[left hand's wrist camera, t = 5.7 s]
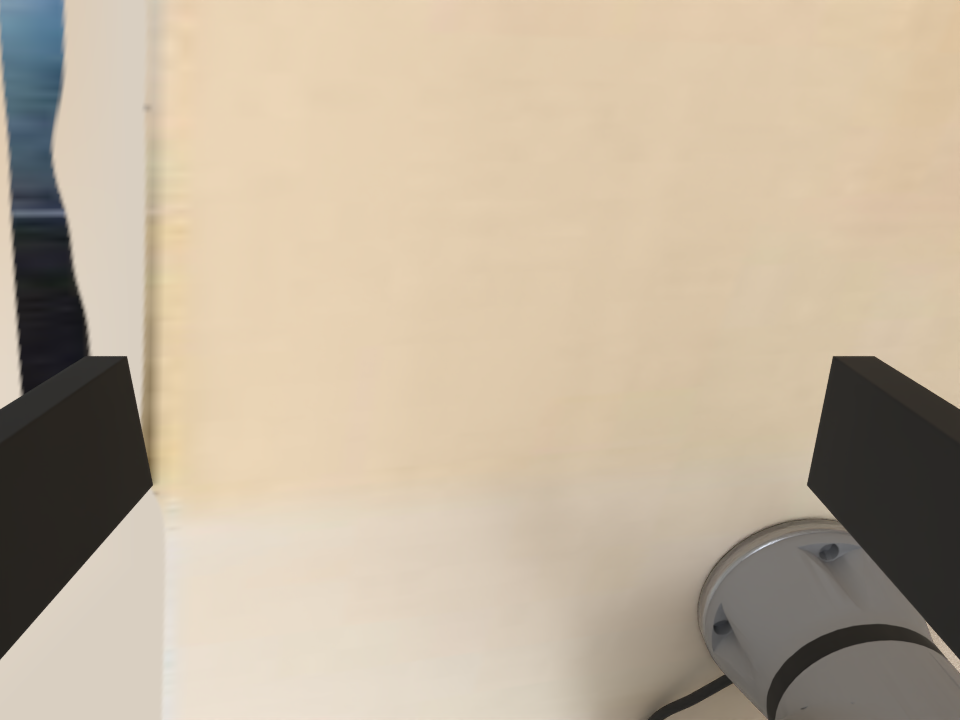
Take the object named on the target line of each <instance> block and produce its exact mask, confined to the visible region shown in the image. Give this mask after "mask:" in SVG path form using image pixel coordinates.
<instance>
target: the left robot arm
mask: <svg viewBox="0 0 960 720" xmlns="http://www.w3.org/2000/svg"><path fill="white" fill-rule="evenodd" d="M152 486H153V483H152V478H151V473H150V468H149V463H148V458H147V453H146V448H145V443H144V438H143V434H142V429H141V424H140V419H139V414H138V409H137V404H136V399H135V394H134V389H133V384H132V379H131V374H130V369H129V364H128V359H127V356H85V357H84V358H82V359H81V360H79V361H77V362H76V363H74V364H73V365H71V366H69V367H68V368H66V369H64V370H63V371H61V372H60V373H58V374H56V375H55V376H53V377H52V378H50V379H48V380H47V381H45V382H44V383H42V384H40V385H39V386H37V387H35V388H34V389H32V390H31V391H29V392H27V393H26V394H24V395H23V396H21V397H19V398H18V399H16V400H15V401H13V402H11V403H10V404H8V405H7V406H5V407H3V408H2V409H0V659H1V658H2V657H3V656H4V655H5V654H6V652H7V651H8V650H9V649H10V648H11V647H12V646H13V644H14V643H15V642H16V641H17V640H18V639H19V638H20V636H21V635H22V634H23V633H24V632H25V631H26V630H27V628H28V627H29V626H30V625H31V624H32V623H33V622H34V620H35V619H36V618H37V617H38V616H39V615H40V614H41V612H42V611H43V610H44V609H45V608H46V607H47V606H48V604H49V603H50V602H51V601H52V600H53V599H54V598H55V596H56V595H57V594H58V593H59V592H60V591H61V590H62V588H63V587H64V586H65V585H66V584H67V583H68V582H69V580H70V579H71V578H72V577H73V576H74V575H75V574H76V572H77V571H78V570H79V569H80V568H81V567H82V566H83V564H84V563H85V562H86V561H87V560H88V559H89V558H90V556H91V555H92V554H93V553H94V552H95V551H96V550H97V548H98V547H99V546H100V545H101V544H102V543H103V542H104V540H105V539H106V538H107V537H108V536H109V535H110V534H111V532H112V531H113V530H114V529H115V528H116V527H117V526H118V524H119V523H120V522H121V521H122V520H123V519H124V518H125V516H126V515H127V514H128V513H129V512H130V511H131V510H132V508H133V507H134V506H135V505H136V504H137V503H138V502H139V500H140V499H141V498H142V497H143V496H144V495H145V494H146V492H147V491H148V490H149V489H150V488H151V487H152ZM807 486H808V487H809V488H810V489H811V490H812V491H813V492H814V494H815V495H816V496H817V497H818V498H819V499H820V500H821V502H822V503H823V504H824V505H825V506H826V507H827V508H828V510H829V511H830V512H831V513H832V514H833V515H834V516H835V518H836V519H837V520H838V521H833V520H825V519H808V520H798V521H792V522H787V523H783V524H779V525H776V526H773V527H770V528H767V529H765V530H762V531H760V532H758V533H756V534H754V535H752V536H750V537H749V538H747V539H745V540H744V541H742V542H741V543H739V544H738V545H736V546H735V547H734V548H733V549H731V550H730V551H729V552H728V553H727V554H726V555H725V556H724V557H723V558H722V559H721V560H720V561H719V562H718V563H717V565H716V566H715V567H714V569H713V570H712V571H711V573H710V574H709V576H708V578H707V580H706V582H705V584H704V586H703V588H702V592H701V595H700V599H699V604H698V621H699V627H700V630H701V633H702V636H703V638H704V641H705V643H706V645H707V648H708V650H709V652H710V654H711V656H712V658H713V659H714V661H715V662H716V664H717V665H718V666H719V668H720V669H721V670H722V672H723V673H724V674H725V675H723V676H722V677H720V678H718V679H716V680H715V681H713V682H711V683H709V684H708V685H706V686H704V687H702V688H701V689H699V690H697V691H695V692H693V693H692V694H690V695H688V696H686V697H684V698H681V699H679V700H677V701H674V702H672V703H670V704H668V705H666V706H664V707H662V708H661V709H659V710H658V711H657V712H655V713H654V714H653V715H652V716H651V717H650V718H649V719H648V720H664V719H665V718H667V717H668V716H670V715H672V714H674V713H676V712H679V711H681V710H683V709H686V708H688V707H690V706H692V705H694V704H696V703H698V702H700V701H702V700H704V699H705V698H707V697H709V696H711V695H713V694H714V693H716V692H718V691H720V690H721V689H723V688H725V687H727V686H729V685H730V684H732V683H734V684H735V685H736V686H737V687H738V689H739V690H740V691H741V692H742V693H743V694H744V695H745V696H746V697H747V698H748V699H749V700H750V701H751V702H752V703H753V704H754V705H755V706H756V707H757V708H758V709H759V710H760V711H761V712H762V714H763V715H764V716H765V717H766V718H767V719H768V720H960V673H959V672H958V671H957V670H956V669H955V667H954V666H953V665H952V664H951V663H950V662H949V661H948V659H947V658H946V657H945V656H944V655H943V654H942V652H941V651H940V650H939V649H938V648H937V646H936V645H935V644H934V643H933V640H932V638H931V635H930V632H929V630H928V627H927V624H926V622H927V623H928V624H929V625H930V626H931V627H932V628H933V630H934V631H935V632H936V633H937V634H938V635H939V636H940V638H941V639H942V640H943V641H944V642H945V643H946V644H947V646H948V647H949V648H950V649H951V650H952V651H953V652H954V654H955V655H956V656H957V657H958V658H959V659H960V409H958V408H957V407H955V406H954V405H952V404H950V403H949V402H947V401H945V400H944V399H942V398H941V397H939V396H937V395H936V394H934V393H933V392H931V391H929V390H928V389H926V388H925V387H923V386H921V385H920V384H918V383H916V382H915V381H913V380H912V379H910V378H908V377H907V376H905V375H904V374H902V373H900V372H899V371H897V370H896V369H894V368H892V367H891V366H889V365H887V364H886V363H884V362H883V361H881V360H879V359H878V358H876V357H875V356H833V359H832V364H831V369H830V374H829V379H828V384H827V389H826V394H825V399H824V404H823V409H822V414H821V419H820V424H819V429H818V434H817V438H816V443H815V448H814V453H813V458H812V463H811V468H810V473H809V478H808V483H807ZM925 620H926V622H925Z"/></svg>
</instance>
